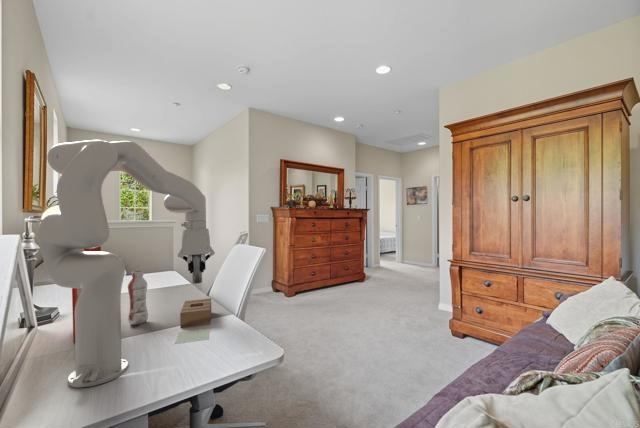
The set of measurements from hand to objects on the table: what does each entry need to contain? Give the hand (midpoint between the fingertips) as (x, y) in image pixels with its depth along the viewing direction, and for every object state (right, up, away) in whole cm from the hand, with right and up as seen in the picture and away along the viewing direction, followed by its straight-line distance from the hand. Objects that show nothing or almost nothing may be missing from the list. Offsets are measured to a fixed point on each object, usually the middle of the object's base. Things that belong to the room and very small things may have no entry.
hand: (197, 271), depth 116 cm
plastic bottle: (-21, -19, -3) cm, 29 cm away
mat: (+6, -19, -17) cm, 26 cm away
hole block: (0, -19, 0) cm, 19 cm away
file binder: (-34, -20, -11) cm, 41 cm away
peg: (0, -4, 0) cm, 4 cm away
